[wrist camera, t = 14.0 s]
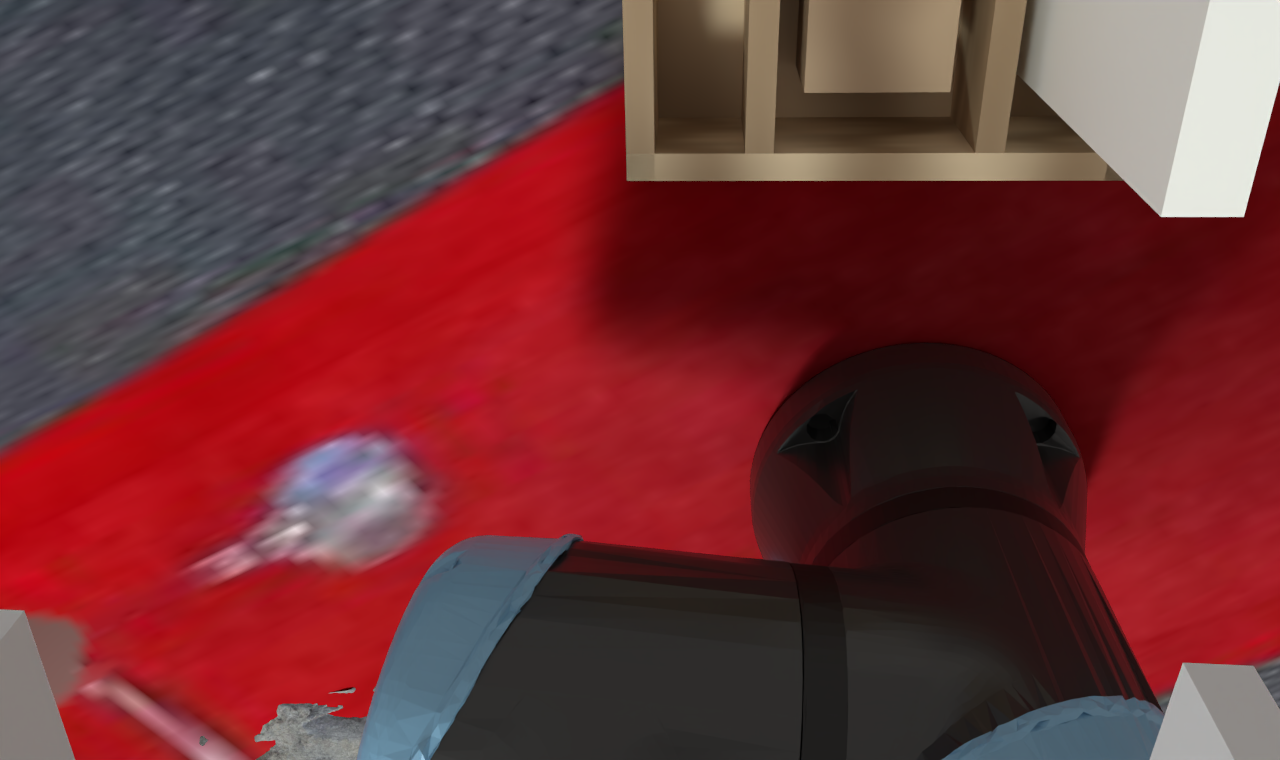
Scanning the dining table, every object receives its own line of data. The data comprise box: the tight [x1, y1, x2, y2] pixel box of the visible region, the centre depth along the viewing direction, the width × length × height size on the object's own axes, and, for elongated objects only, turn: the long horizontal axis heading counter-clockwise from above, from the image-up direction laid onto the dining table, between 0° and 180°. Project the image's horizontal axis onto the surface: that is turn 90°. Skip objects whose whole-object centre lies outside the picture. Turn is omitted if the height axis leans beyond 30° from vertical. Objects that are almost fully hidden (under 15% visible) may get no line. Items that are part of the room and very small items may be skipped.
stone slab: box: [200, 687, 376, 760], centre depth 63 cm, size 18×2×10 cm
